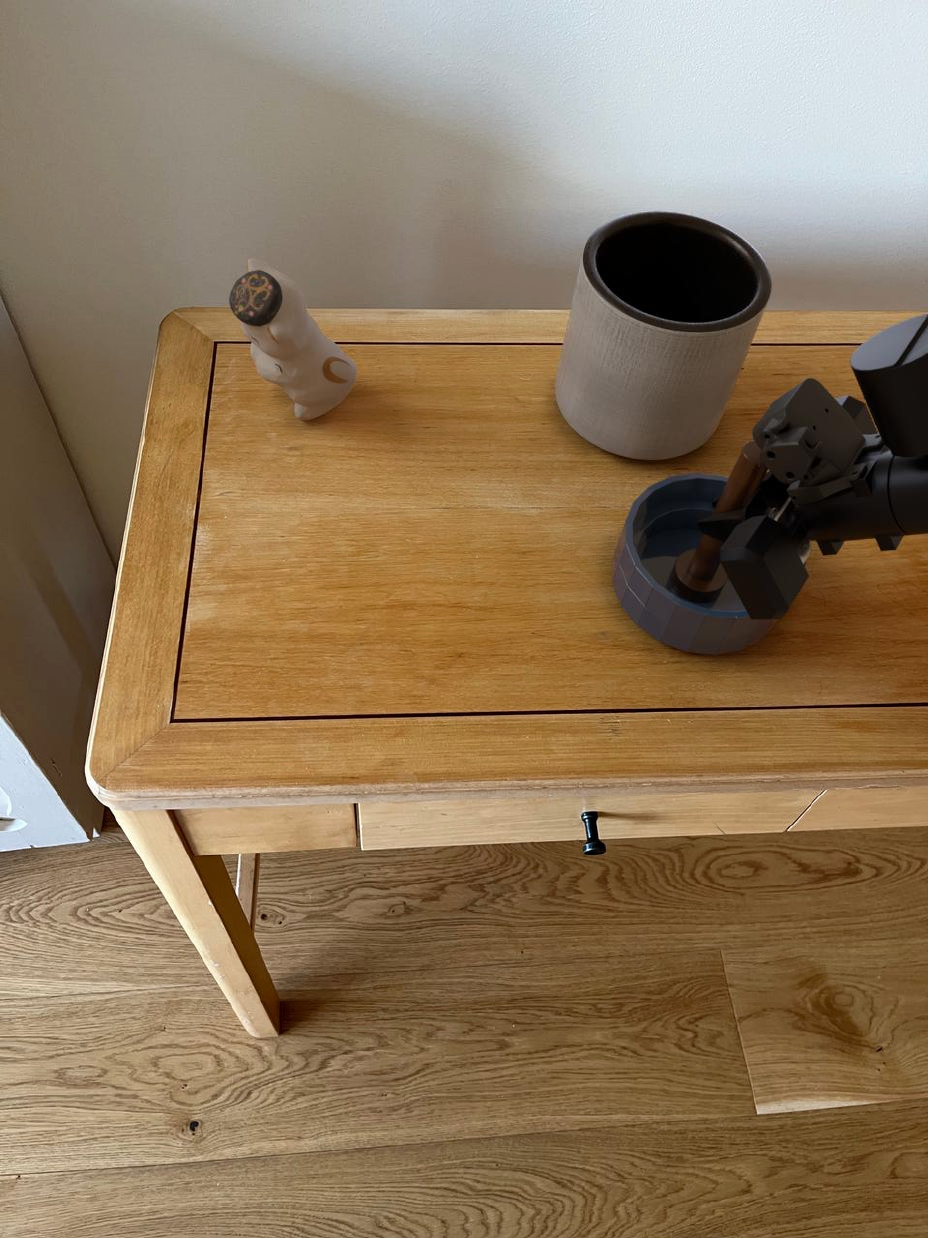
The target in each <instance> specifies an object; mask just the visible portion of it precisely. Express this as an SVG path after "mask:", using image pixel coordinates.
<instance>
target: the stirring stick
mask: <svg viewBox="0 0 928 1238" xmlns="http://www.w3.org/2000/svg"><path fill="white" fill-rule="evenodd" d="M760 452H761V449H760V448H759V447H758V445H757V444H756V443H755V441H754V440H750V441H747V442H746V443H744V444H743V445H742V448H741V450H740V452H739V455H738V457H737V459H736V461H735V463H734V465H733V468H732V470H731V472H730V475H729V477H728V478H729V479H728V481H727V483H726V485H725V487H724V490H723V492H722V494H721V496H720V498H719V500H718V503H717V505H716V507H715V509H714V511H713V514H712V515H714V514H718V513H722V512H726V511H730V510H735V509H739V508H743V507H746V505H747V504H748V502H749V501H750V500H751V498H752V497H753V495H754V494H755V493H756V491H757V490H758V488H759V486H760V484H761V482H762V480H763V478H764V476H765V474H766V473H767V472H768V471H769V469H768V468H767V467H766V466H765V465H764V464H763V463H762V462H761V461H760ZM723 544H724V543H723V542H721V541H719V540H716V539H714V538H712V537H710V536H708V535H705V534H703V535H702V538H701V540H700V542H699V544H698V546H697V548H696V549H691V550H687V551H685V552H683V553H682V554H680V555H679V556H678V558H677V560H676V562H675V564H674V566H673V569H672V571H671V575H670V579H671V583H672V586H673V588H674V589H675V590H676V592H677V593H678V594H679V595H681V596H682V597H684V598H685V599H687V600H690V601H693V602H699V603H703V602H709V601H712V600H714V599H715V598H717V597H718V596H719V595H720V593H721V591H722V589H723V588H724V586H725V584H726V582H727V579H728V576H727V574H726V572H725V570H724V568H723V567H722V565H721V563H720V549H721V547H722V546H723Z"/></svg>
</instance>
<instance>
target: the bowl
mask: <svg viewBox="0 0 928 1238" xmlns="http://www.w3.org/2000/svg"><path fill="white" fill-rule="evenodd" d="M728 479H729V477H728V476H725V475H720V474H711V473H701V472H691V473H685V474H678V475H677V474H676V475H671V476H669V477H666V478H664V479H662V480H660V481H658V482H655V483H653V484H651V485H649V486H648V487H647V488H645V490H643V492H642V493H641V494H639V496H637V498H636V499H634V501H633V502H632V505H631V507H630V509H629V512H628V514H627V516H626V519H625V522H624V524H623V527H622V530H621V533H620V536H619V539H618V542H617V545H616V548H615V551H614V554H613V557H612V559H611V582H612V587H613V588H614V592H615V594H616V596H617V599H618V601H619V603H620V604H619V605H620V606H621V607H622V609H623V610H624V611H625V612H626V613H627V615H628V616H629V617H630V619H632V621H633V622H634V623H635V625H636V626H637V627H638V628H640V629H641V630H643V631H644V632H646V633H647V634H649V636H652V637H653V638H654V639H656V640H657V641H658V642H660V643H662V644H665V645H667V646H670V647H673V648H674V649H678V650H680V651H683V652H686V653H692V654H693V653H694V654H703V655H711V656H718V655H724V654H729V653H735V652H739V651H740V652H741V651H743V650H745V649H747V648H748V647H750V646H752V645H754V644H756V643H758V642H759V641H761V640H763V639H764V637H765V636H766V635H767V634H768V632H770V630H772V628H773V627H774V625H775V624H776V623H777V621H778V620H751V618H750V617H749V615H748V613H747V611H746V609H745V607H744V605H743V604H742V602H741V600H740V598H739V596H738V594H737V592H736V591H735V589H734V587H733V585H732V583H731V581H730V580H729V578H728V579H727V582H726V584H725V586H724V588H723V589H722V591H721V593H720V595H719V596H718V597H717V598H715V599H714V600H712V601H709V602H703V603H699V602H693V601H690V600H687V599H685V598H684V597H682V596H681V595H679V594H678V593H677V592H676V590H675V589H674V588H673V586H672V583H671V579H670V575H671V571H672V569H673V566H674V564H675V562H676V560H677V558H678V556H679V555H680V554H682V553H683V552H685V551H687V550H691V549H696V548H697V546H698V544H699V542H700V540H701V538H702V535H703V533H702V532H701V531H700V529H699V527H698V525H697V522H698V521H699V519H702V518H705V517H708V516H711V515H712V514H713V511H714V507H713V505H712V502H713V500H714V499H716V498H718V497H720V496H721V494H722V492H723V490H724V487H725V485H726V483H727V481H728ZM804 566H805V567H806V566H807V560H806V561H805V563H804Z"/></svg>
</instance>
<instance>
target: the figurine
mask: <svg viewBox="0 0 928 1238" xmlns="http://www.w3.org/2000/svg"><path fill="white" fill-rule="evenodd" d="M228 303H229V307H230V310H231V312H232V313H233V315H234V316H235V317H236V319H237V320H239V321H240V326H241V331H242V332H243V334H244V336H245V337H246V338H247V339H248V341H250V342H251V343H250V347H249V348H250V350H249V353H250V356H251V359H252V361H253V362H254V364H255V367H256V370H257V374H258V375H259V377H261V378H262V379H263V380H265V381H266V382H269V383H272V384H274V385H276V386H279V387H280V388H281V389H282V390H283V391H284V392H285V394H286V395H287V396H288V398H290V399H291V401H294V402H295V403H294V408H293V411H294V416H295V417H296V418H297V419H298V420H300V421H310V420H313V419H315V418H318V417H320V416H322V415H324V414H326V413H328V412H329V411H331V410H333V409H334V408H336V407H337V406H338V405H340V404H341V403H342V402H343V401H344V400H345V399H346V397H347V396H348V395H349V394H350V393H351V391H352V389H353V387H354V385H355V383H356V380H357V376H358V370H357V368H358V367H357V365H356V362H355V361H354V360H353V359H352V358H351V357H350V356H348V355H347V354H346V353H345V352H344V351H343V349H342V348H341V347H340V346H339V345H338V344H336V342H335V341H333V340H332V339H330V338H329V337H327V336H326V335H325V334H324V333H323V332H322V330H321V329H320V327H319V325H318V323H317V322H316V320H315V319H314V318H313V317H312V316H311V314H309V312H308V308H307V307H308V306H307V301H306V297H305V295H304V293H303V291H302V289H301V288H300V287H299V285H298V284H297V283H296V282H295V281H294V280H293V279H291V278H290V277H289V276H287V275H286V274H284V273H282V272H280V271H278V270H276V269H274V268H273V267H271V266H269V265H268V264H267V263H265V262H264V261H262V260H260V259H258V258H255V257H251V258H248V259H247V264H246V273H245V274H243V275H242V276H241V277H239V278H237V280H236V281H235V282H234V284H233V286H232V288H231V290H230V293H229V298H228Z"/></svg>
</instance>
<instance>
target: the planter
mask: <svg viewBox="0 0 928 1238" xmlns="http://www.w3.org/2000/svg"><path fill="white" fill-rule="evenodd" d="M574 286H575V287H574V291H573V296H572V300H571V305H570V309H569V315H568V320H567V324H566V328H565V332H564V337H563V342H562V346H561V351H560V355H559V360H558V365H557V369H556V374H555V382H554V383H555V385H554V395H555V400H556V404H557V407H558V410H559V411H560V414H561V415H562V417H563V418H564V420H565V421H566V423H567V424H568V425H569V427H571V428H572V429H573V431H575V432H576V433H577V434H578V435H579V436H581V437H582V438H583V439H584V440H585V441H587V442H589V443H590V444H592V445H594V446H595V447H598V448H600V449H601V450H604V451H606V452H608V453H610V454H613V455H617V456H621V457H625V458H628V459H634V460H643V461H645V460H646V461H647V460H648V461H659V460H667V459H674V458H678V457H681V456H685V455H687V454H689V453H692V452H694V451H695V450H697V449H699V448H700V447H701V446H703V445H704V444H705V443H707V442H708V441H709V439H711V437H712V436H713V435H714V434H715V432H716V430H717V428H718V427H719V425H720V423H721V421H722V418H723V417H724V414H725V411H726V409H727V407H728V404H729V403H730V399H731V396H732V394H733V392H734V389H735V386H736V383H737V382H738V379H739V376H740V373H741V371H742V368H743V365H744V364H745V361H746V358H747V356H748V353H749V351H750V348H751V346H752V343H753V340H754V338H755V335H756V333H757V330H758V328H759V326H760V323H761V321H762V318H763V316H764V313H765V312H766V308H767V306H768V304H769V302H770V299H771V296H772V292H773V281H772V276H771V272H770V270H769V267H768V265H767V263H766V261H765V259H764V257H762V255H761V254H760V252H759V251H758V250H757V249H756V248H755V247H754V246H753V245H752V244H751V243H750V242H749V241H747V240H746V239H745V238H744V237H742V236H741V235H740V234H738V233H736V232H735V231H734V230H732V229H730V228H728V227H726V226H724V225H722V224H720V223H718V222H716V221H714V220H710V219H708V218H704V217H701V216H698V215H694V214H690V213H685V212H679V211H672V210H644V211H636V212H630V213H626V214H623V215H620V216H617V217H614V218H612V219H610V220H608V221H606V222H604V223H603V224H601V225H600V226H599V227H598V228H596V229H595V230H593V232H592V233H591V234H590V236H589V237H588V239H587V240H586V241H585V244H584V246H583V249H582V253H581V258H580V263H579V268H578V272H577V277H576V281H575V285H574Z"/></svg>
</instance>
